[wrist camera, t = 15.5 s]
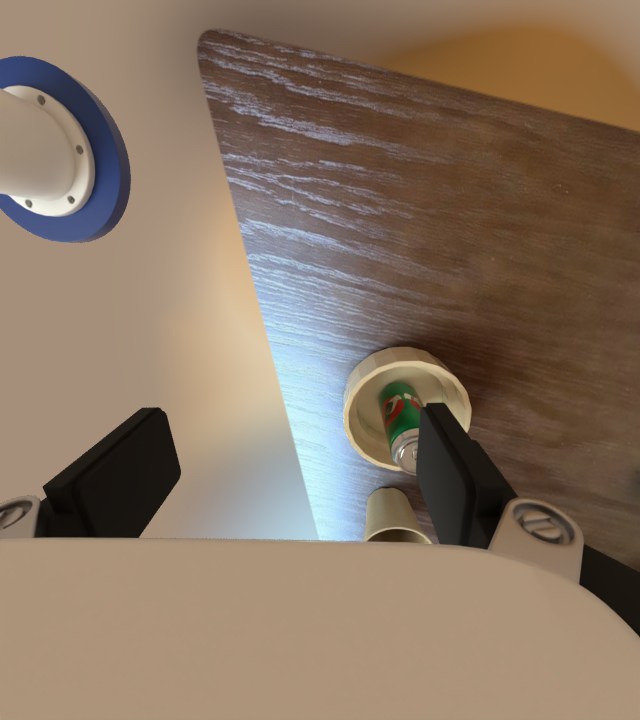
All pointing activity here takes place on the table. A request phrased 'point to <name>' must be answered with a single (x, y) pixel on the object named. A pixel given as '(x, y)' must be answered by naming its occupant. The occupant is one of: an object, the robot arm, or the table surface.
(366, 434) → the bowl
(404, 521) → the flower pot
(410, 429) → the soda can
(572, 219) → the table surface
